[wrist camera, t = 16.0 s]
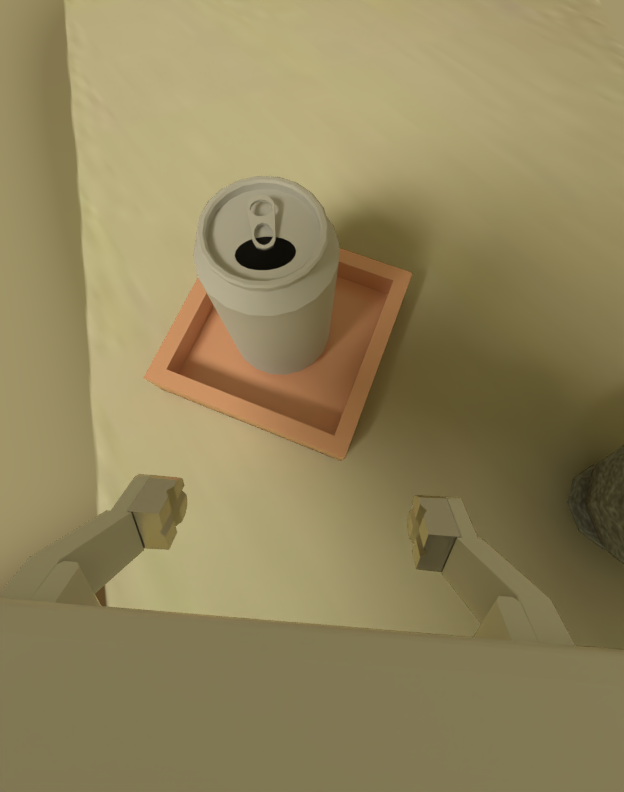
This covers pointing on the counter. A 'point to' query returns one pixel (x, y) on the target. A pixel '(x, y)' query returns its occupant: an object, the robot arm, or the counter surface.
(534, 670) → the robot arm
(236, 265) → the can
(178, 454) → the counter surface
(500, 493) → the counter surface
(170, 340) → the dish
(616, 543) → the mortar and pestle
